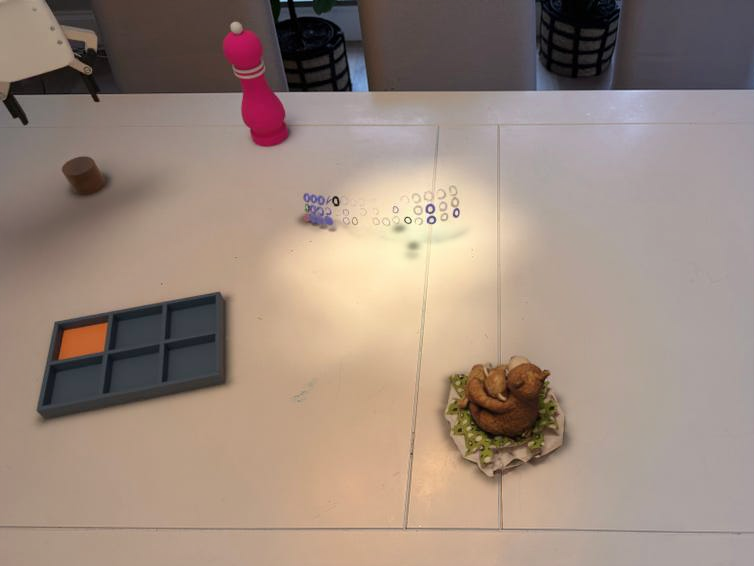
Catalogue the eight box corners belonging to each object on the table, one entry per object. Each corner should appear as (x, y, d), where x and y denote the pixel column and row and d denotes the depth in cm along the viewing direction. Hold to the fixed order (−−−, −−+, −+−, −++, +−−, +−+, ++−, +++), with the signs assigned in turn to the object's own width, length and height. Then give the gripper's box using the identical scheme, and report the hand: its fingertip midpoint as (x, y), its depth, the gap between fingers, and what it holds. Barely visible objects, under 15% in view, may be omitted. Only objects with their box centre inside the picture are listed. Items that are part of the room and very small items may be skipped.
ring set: (291, 258, 103) (268, 184, 96) (331, 228, 112) (313, 158, 105) (438, 266, 93) (424, 184, 87) (469, 233, 102) (459, 156, 96)
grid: (224, 383, 86) (219, 374, 84) (45, 419, 83) (36, 410, 82) (224, 301, 95) (219, 291, 93) (62, 331, 92) (54, 321, 91)
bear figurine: (530, 355, 87) (532, 290, 78) (580, 449, 78) (590, 388, 69) (429, 386, 85) (420, 323, 75) (470, 487, 76) (464, 430, 66)
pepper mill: (291, 122, 121) (259, 8, 105) (291, 145, 117) (257, 30, 101) (250, 127, 121) (212, 14, 105) (249, 151, 116) (209, 36, 100)
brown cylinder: (72, 197, 110) (59, 177, 107) (76, 179, 113) (63, 159, 110) (104, 192, 110) (92, 172, 107) (107, 174, 113) (95, 154, 110)
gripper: (54, -48, 86) (116, 78, 99) (-96, -12, 80) (-9, 116, 94) (66, -27, 82) (129, 101, 95) (-90, 13, 77) (-1, 143, 90)
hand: (60, 109), depth 95 cm, fingers open, 9 cm apart
